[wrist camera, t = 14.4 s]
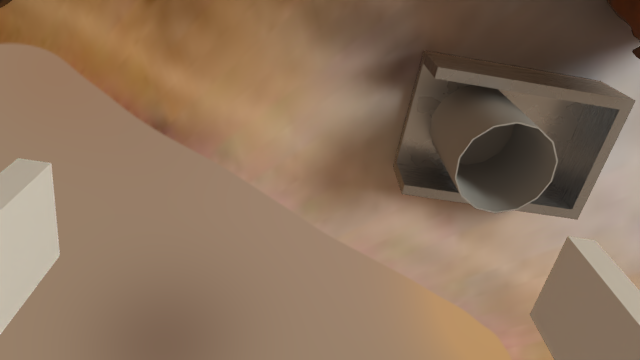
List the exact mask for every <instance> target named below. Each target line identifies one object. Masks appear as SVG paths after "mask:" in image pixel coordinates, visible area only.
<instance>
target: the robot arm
mask: <svg viewBox="0 0 640 360" xmlns="http://www.w3.org/2000/svg"><path fill="white" fill-rule="evenodd" d="M10 1H12V0H0V8H1V7H3V6H5V5H6V4H8V3H9V2H10ZM59 256H60V252H59V241H58V231H57V219H56V208H55V198H54V187H53V176H52V165H51V163H48V162H41V161H33V160H27V159H20V158H18V159H17V160H15V161H14V162H13V163H12V164H10V165H9V166H8V167H7V168H5V169H4V170H3V171H2V172H0V334H1V333H2V331H3V330H4V329H5V327H6V326H7V325H8V324H9V322H10V321H11V320H12V318H13V317H14V316H15V314H16V313H17V312H18V310H19V309H20V307H21V306H22V305H23V304H24V302H25V301H26V300H27V298H28V297H29V296H30V294H31V293H32V292H33V290H34V289H35V288H36V286H37V285H38V284H39V282H40V281H41V280H42V278H43V277H44V276H45V275H46V273H47V272H48V270H49V269H50V268H51V267H52V265H53V264H54V263H55V261H56V260H57V259H58V257H59ZM530 316H531V318H532V320H533V321H534V323H535V325H536V327H537V329H538V331H539V332H540V334H541V336H542V338H543V340H544V341H545V343H546V345H547V347H548V349H549V351H550V352H551V354H552V356H553V358H554V360H640V290H639V289H638V288H637V287H636V286H635V285H634V284H633V282H632V281H631V280H630V279H629V278H628V277H627V276H626V274H625V273H624V272H623V271H622V270H621V269H620V268H619V267H618V265H617V264H616V263H615V262H614V261H613V260H612V259H611V257H610V256H609V255H608V254H607V253H606V252H605V251H604V249H603V248H602V247H601V246H600V245H599V244H598V243H597V242H596V240H591V239H584V238H577V237H570V236H568V237H567V239H566V241H565V243H564V245H563V247H562V249H561V251H560V253H559V255H558V258H557V260H556V262H555V264H554V266H553V268H552V270H551V272H550V274H549V276H548V278H547V280H546V282H545V284H544V286H543V288H542V290H541V292H540V294H539V297H538V299H537V301H536V303H535V305H534V307H533V309H532V311H531V313H530Z"/></svg>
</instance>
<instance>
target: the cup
mask: <svg viewBox="0 0 640 360" xmlns="http://www.w3.org/2000/svg"><path fill="white" fill-rule="evenodd" d="M430 135H431V138H432V141H433V144H434V146H435V149H436V151H437V153H438V154H439V156H440V158H441V160H442V162H443V164H444V166H445V168H446V169H447V171H448V173H449V175H450V177H451V179H452V181H453V182H454V184H455V186H456V188H457V190H458V192H459V194H460V196H461V197H462V198H464V199H465V200H466V201H467V202H468V203H469V204H471V205H472V206H473V207H474V208H475V209H479V210H484V211H488V212H492V213H500V212H507V211H513V210H518V209H520V208H521V207H523V206H525V205H527V204H529V203H530V202H532V201H534V200H536V199H538V197H539V196H540V195H541V194H542V193H543V191H544V190H545V189H546V188H547V187H548V186H549V184H550V183H551V182H552V180H553V177H554V173H555V170H556V167H557V163H558V159H557V154H556V150H555V145H554V142H553V141H552V140H551V139H550V138H549V137H548V136H547V135H546V134H545V133H544V132H543V131H542V130H541V129H540V128H539V127H538V126H537V125H536V124H535V123H534V122H533V121H532V120H531V119H529V118H528V117H527V116H526V115H525V114H524V113H523V112H522V111H521V110H520V109H519V108H518V107H516V106H515V105H514V104H513V103H512V102H511V101H510V100H509V99H508V98H507V97H506V96H504V95H503V94H502V93H501V92H500V91H499V90H498V89H494V88H488V87H482V86H476V85H473V86H467V87H461V88H459V89H457V90H456V91H454V92H453V93H451V94H450V95H448V96H447V97H445V98H444V99H443V100H442V101H441V103H440V104H439V106H438V107H437V109H436V110H435V112H434V113H433V115H432V120H431V127H430Z"/></svg>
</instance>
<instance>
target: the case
mask: <svg viewBox="0 0 640 360" xmlns="http://www.w3.org/2000/svg"><path fill="white" fill-rule="evenodd" d="M607 1H608V3H609V5H610V6H611V8H612V9H613V10H614V11H615V13H616V14H617V15H618V16H619V17H620V18H621V19H623V20H624V21H625V22H626V23H627V24H629V25H630V26H631V28H632V33H633V35H634V36H635V37H636V38H638V39H639V40H640V0H607ZM632 52H633V53H634V54H635V56H636V57H638V58H639V59H640V46H639V47H638V48H636V49H634V50H633V51H632Z"/></svg>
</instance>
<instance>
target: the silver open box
mask: <svg viewBox="0 0 640 360" xmlns="http://www.w3.org/2000/svg"><path fill="white" fill-rule="evenodd" d="M473 85H476V86H482V87H488V88H494V89H498V90H499V91H500V92H501V93H502V94H503V95H504V96H506V97H507V98H508V99H509V100H510V101H511V102H512V103H513V104H514V105H515V106H516V107H518V108H519V109H520V110H521V111H522V112H523V113H524V114H525V115H526V116H527V117H528V118H529V119H531V120H532V121H533V122H534V123H535V124H536V125H537V126H538V127H539V128H540V129H541V130H542V131H543V132H544V133H545V134H546V135H547V136H548V137H549V138H550V139H551V140H552V141H553V142H554V145H555V150H556V154H557V159H558V163H557V167H556V170H555V173H554V177H553V180H552V182H551V183H550V184H549V186H548V187H547V188H546V189H545V190H544V191H543V193H542V194H541V195H540V196H539V197H538V199H536V200H534V201H532V202H530V203H529V204H527V205H525V206H523V207H521V208H520V209H518V210H515V211H522V212H529V213H536V214H543V215H550V216H557V217H564V218H571V219H578V217H579V215H580V213H581V211H582V209H583V207H584V205H585V203H586V201H587V199H588V197H589V195H590V193H591V191H592V189H593V187H594V185H595V183H596V180H597V178H598V176H599V174H600V172H601V170H602V168H603V166H604V164H605V162H606V160H607V158H608V156H609V154H610V152H611V150H612V148H613V146H614V144H615V142H616V140H617V137H618V135H619V133H620V131H621V129H622V127H623V125H624V123H625V121H626V119H627V117H628V115H629V113H630V111H631V109H632V107H633V105H634V103H635V100H633V99H632V98H630V97H628V96H626V95H625V94H623V93H621V92H619V91H617V90H616V89H614V88H612V87H610V86H608V85H607V84H605V83H603V82H601V81H598V80H592V79H586V78H580V77H575V76H569V75H563V74H557V73H552V72H546V71H540V70H534V69H528V68H523V67H517V66H511V65H505V64H499V63H494V62H488V61H482V60H476V59H470V58H465V57H459V56H453V55H447V54H441V53H436V52H430V51H424V52H423V56H422V60H421V63H420V67H419V71H418V75H417V78H416V82H415V86H414V90H413V93H412V97H411V101H410V105H409V108H408V112H407V116H406V120H405V123H404V127H403V131H402V135H401V138H400V142H399V146H398V150H397V153H396V157H395V161H394V165H393V168H394V171H395V174H396V177H397V180H398V183H399V187H400V190H401V193H402V194H405V195H412V196H419V197H426V198H433V199H440V200H447V201H453V202H460V203H467V204H469V203H468V202H467V201H466V200H465V199H464V198H462V197H461V196H460V194H459V192H458V190H457V188H456V186H455V184H454V182H453V181H452V179H451V177H450V175H449V173H448V171H447V169H446V168H445V166H444V164H443V162H442V160H441V158H440V156H439V154H438V153H437V151H436V149H435V146H434V144H433V141H432V138H431V135H430V127H431V120H432V115H433V113H434V112H435V110H436V109H437V107H438V106H439V104H440V103H441V101H442V100H443V99H444V98H445V97H447V96H448V95H450V94H451V93H453V92H454V91H456V90H457V89H459V88H461V87H467V86H473Z"/></svg>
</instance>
